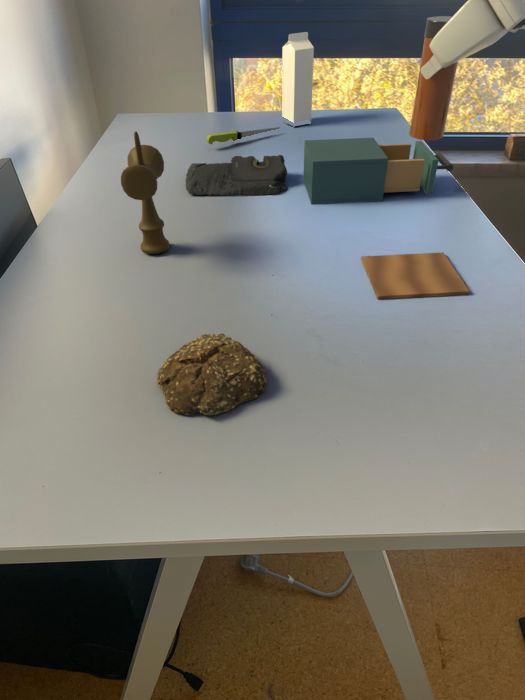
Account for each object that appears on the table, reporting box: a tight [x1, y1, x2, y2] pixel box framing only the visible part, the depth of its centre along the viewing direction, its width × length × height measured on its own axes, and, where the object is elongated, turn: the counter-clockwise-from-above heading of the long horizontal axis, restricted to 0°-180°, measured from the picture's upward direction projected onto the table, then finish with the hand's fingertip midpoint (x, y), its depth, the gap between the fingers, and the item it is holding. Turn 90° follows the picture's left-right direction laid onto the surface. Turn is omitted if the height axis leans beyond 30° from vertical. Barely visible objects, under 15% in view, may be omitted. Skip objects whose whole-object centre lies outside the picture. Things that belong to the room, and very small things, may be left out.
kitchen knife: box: [206, 126, 281, 145], centre depth 134 cm, size 22×1×3 cm, turn 124°
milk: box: [281, 31, 315, 123], centre depth 139 cm, size 6×6×22 cm
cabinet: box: [302, 137, 388, 205], centre depth 106 cm, size 15×13×9 cm
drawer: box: [378, 140, 454, 194], centre depth 107 cm, size 18×11×7 cm, turn 94°
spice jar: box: [409, 15, 459, 141], centre depth 74 cm, size 5×5×15 cm
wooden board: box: [360, 252, 471, 300], centre depth 82 cm, size 14×12×1 cm
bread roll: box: [155, 333, 267, 416], centre depth 63 cm, size 13×12×5 cm
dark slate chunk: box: [185, 154, 288, 197], centre depth 112 cm, size 15×22×5 cm
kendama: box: [120, 130, 170, 255], centre depth 84 cm, size 6×10×20 cm, turn 3°
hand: (433, 70), depth 73 cm, fingers closed on spice jar, 5 cm apart
